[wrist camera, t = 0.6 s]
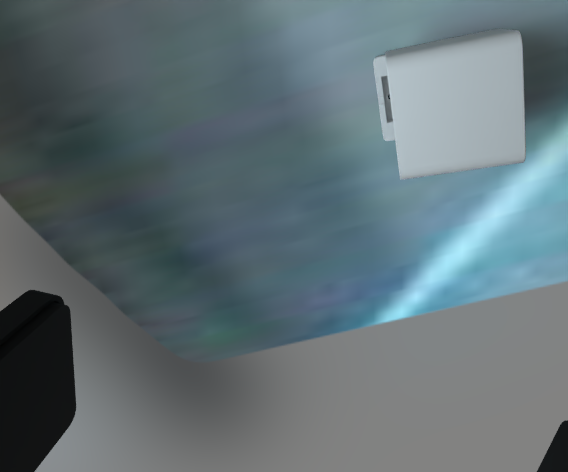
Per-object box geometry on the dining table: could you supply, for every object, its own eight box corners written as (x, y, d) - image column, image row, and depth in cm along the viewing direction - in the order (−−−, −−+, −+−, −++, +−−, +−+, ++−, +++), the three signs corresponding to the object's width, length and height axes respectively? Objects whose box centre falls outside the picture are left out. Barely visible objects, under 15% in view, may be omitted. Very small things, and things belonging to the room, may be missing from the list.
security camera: (489, 126, 33) (527, 165, 24) (384, 143, 35) (384, 185, 26) (484, 27, 31) (524, 29, 22) (372, 50, 33) (367, 61, 24)
